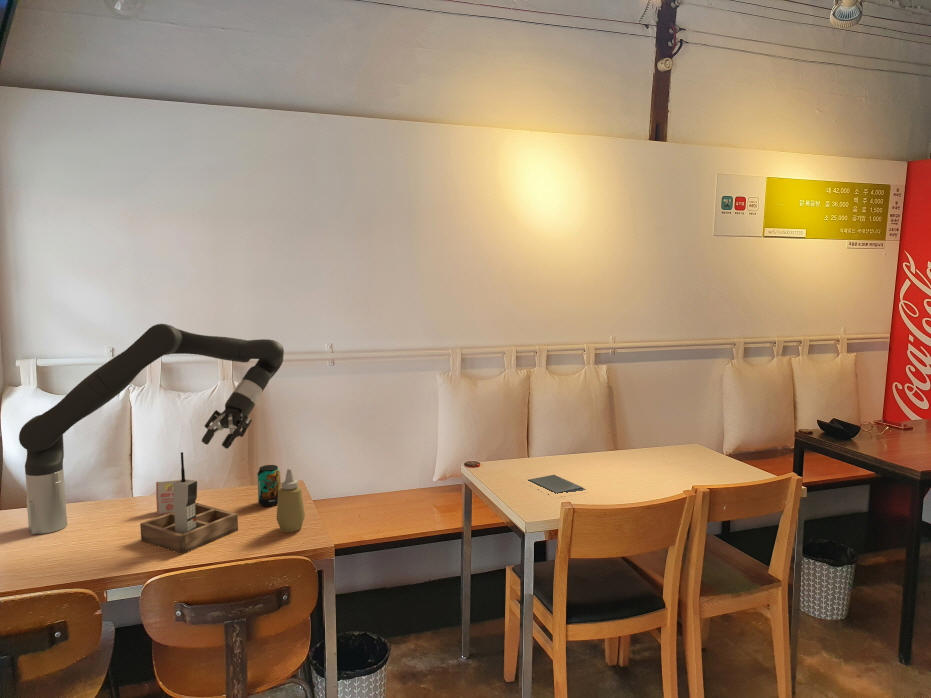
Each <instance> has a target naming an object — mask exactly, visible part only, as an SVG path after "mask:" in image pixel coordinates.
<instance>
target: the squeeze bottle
mask: <svg viewBox="0 0 931 698" xmlns="http://www.w3.org/2000/svg"><path fill="white" fill-rule="evenodd" d="M280 483H281V489H280V490H279V491H278V504H277V505H276V506H277V507H276V517H275V518H276V521H277V524H278V526H279V528H280V530H282V531H281V532H283V531H284V533H292V532H291V531H295V532H298V531H300V530H301V529H302V527H303V524H304V521H305V517H306V512H305V505H304V498H303V492H302V491H303V490H302V488H301V487H299V480H298V479H295V478H294V474H293V471H292V468H287V469H286V475H285V479H284V480H282V481H280ZM299 529H300V530H299ZM297 530H298V531H297Z"/></svg>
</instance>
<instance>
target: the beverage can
mask: <svg viewBox="0 0 931 698" xmlns="http://www.w3.org/2000/svg"><path fill="white" fill-rule="evenodd" d="M258 469H259V470H258V472H257V475H256V476H257V495H258V497H257V502H258V504H259V505H260V506H261V505H262V506H261V507H265V506H269V507H273V506H272V505H275V506H277V505H276V504H278V491H279V490H280V489H281V488H282V487H281V471H280V470H279V467H278V465H275V464H265V465H262V466H259V467H258Z"/></svg>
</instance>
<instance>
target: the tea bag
mask: <svg viewBox="0 0 931 698" xmlns="http://www.w3.org/2000/svg"><path fill="white" fill-rule="evenodd" d="M180 480H181V479H175V480H164V481H163V480H162V481H156V482H155V484H156V485H155V486H156V489H155V490H156V492H155V493H156V494H155V495H156V515H157V516H162V514H164V515H165V514H168V513H171V512H174V495H173V484H174V483H175V482H177V481H180Z"/></svg>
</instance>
